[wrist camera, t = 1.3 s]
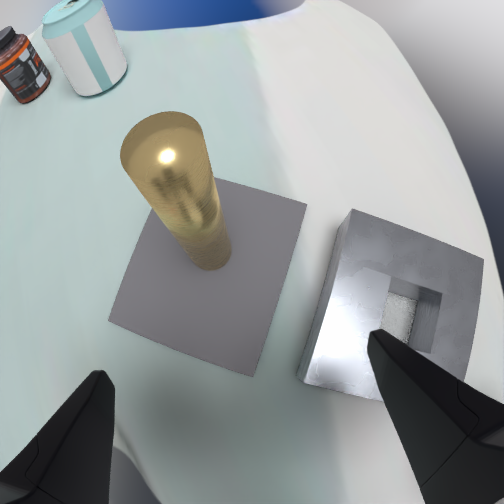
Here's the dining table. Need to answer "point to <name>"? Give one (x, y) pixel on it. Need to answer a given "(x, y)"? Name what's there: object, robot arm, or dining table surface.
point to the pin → (179, 184)
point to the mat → (213, 281)
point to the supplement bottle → (21, 66)
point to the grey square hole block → (374, 299)
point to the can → (84, 45)
